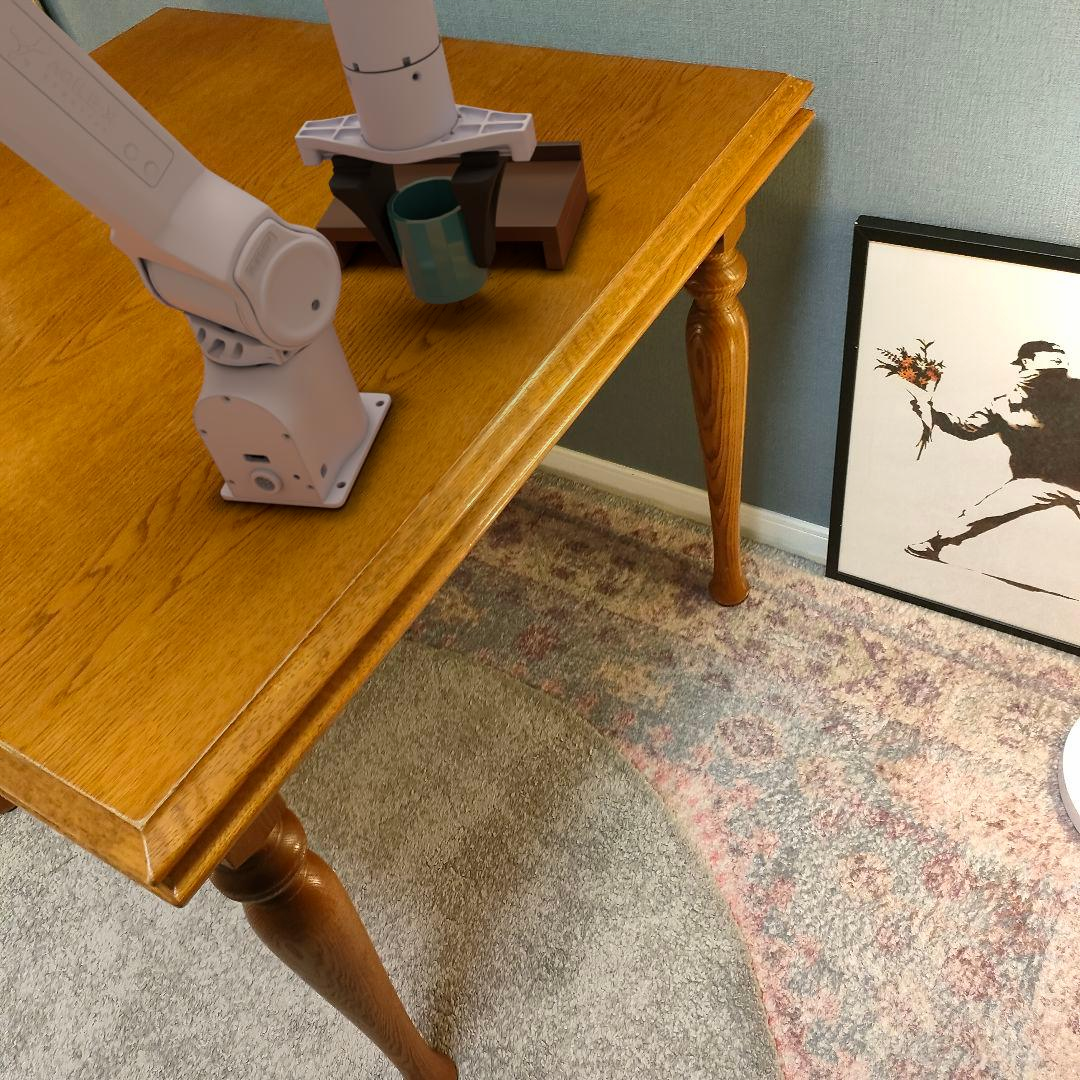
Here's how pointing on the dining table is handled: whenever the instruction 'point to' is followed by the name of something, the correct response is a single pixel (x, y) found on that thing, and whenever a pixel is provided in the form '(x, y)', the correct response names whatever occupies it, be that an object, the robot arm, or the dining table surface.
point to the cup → (434, 242)
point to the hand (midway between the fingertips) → (444, 259)
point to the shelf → (523, 205)
